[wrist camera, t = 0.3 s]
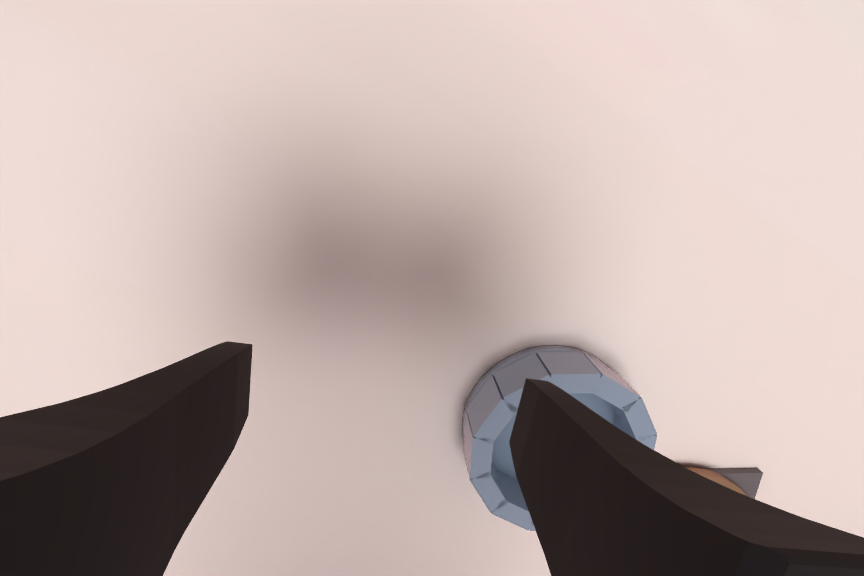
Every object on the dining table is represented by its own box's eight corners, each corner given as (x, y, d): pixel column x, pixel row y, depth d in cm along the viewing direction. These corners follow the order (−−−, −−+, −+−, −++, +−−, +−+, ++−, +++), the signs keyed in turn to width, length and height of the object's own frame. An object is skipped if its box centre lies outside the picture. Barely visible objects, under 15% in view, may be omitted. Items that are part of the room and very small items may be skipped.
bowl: (609, 485, 26) (635, 527, 23) (457, 488, 25) (465, 532, 22) (637, 345, 23) (671, 373, 20) (467, 345, 22) (477, 374, 19)
